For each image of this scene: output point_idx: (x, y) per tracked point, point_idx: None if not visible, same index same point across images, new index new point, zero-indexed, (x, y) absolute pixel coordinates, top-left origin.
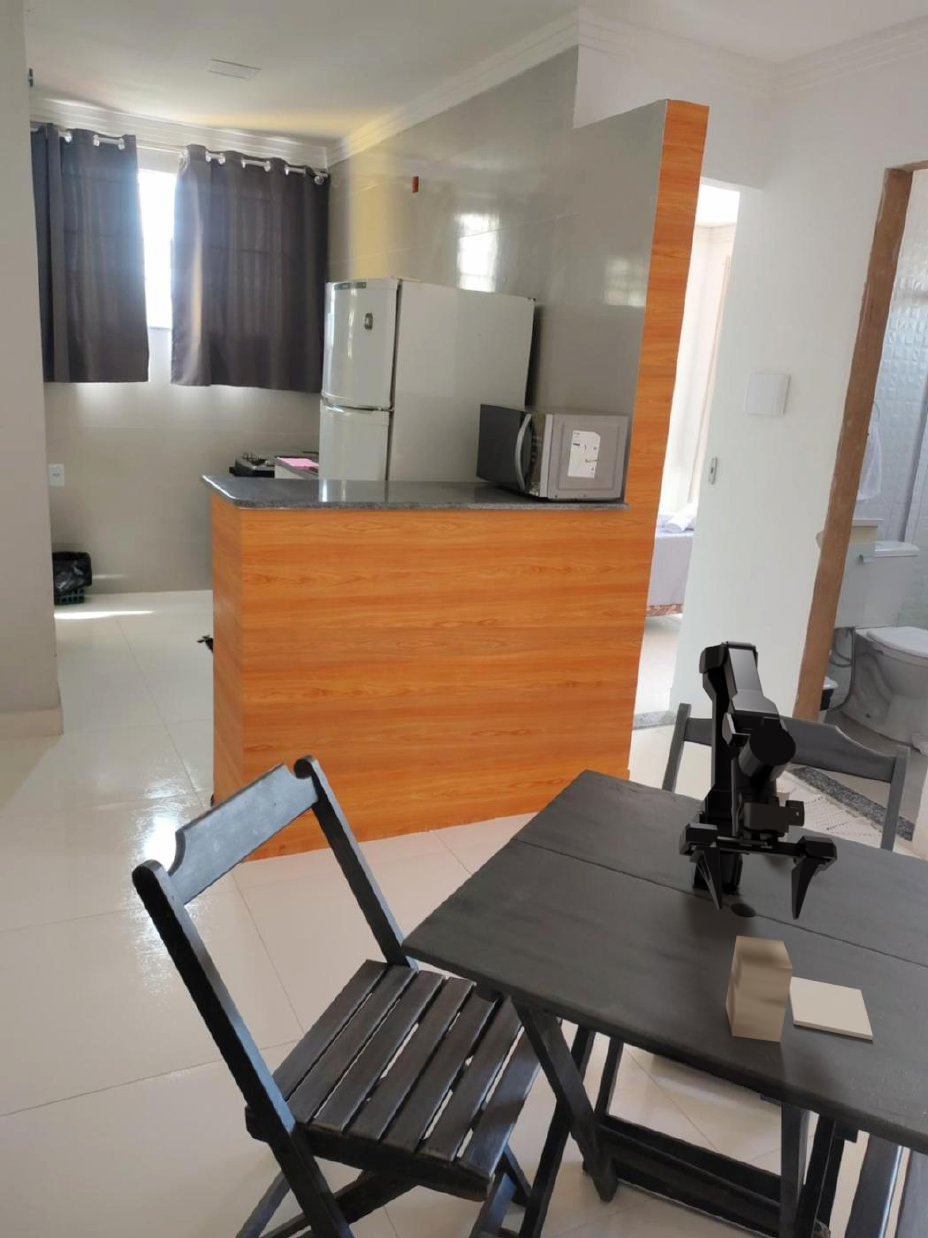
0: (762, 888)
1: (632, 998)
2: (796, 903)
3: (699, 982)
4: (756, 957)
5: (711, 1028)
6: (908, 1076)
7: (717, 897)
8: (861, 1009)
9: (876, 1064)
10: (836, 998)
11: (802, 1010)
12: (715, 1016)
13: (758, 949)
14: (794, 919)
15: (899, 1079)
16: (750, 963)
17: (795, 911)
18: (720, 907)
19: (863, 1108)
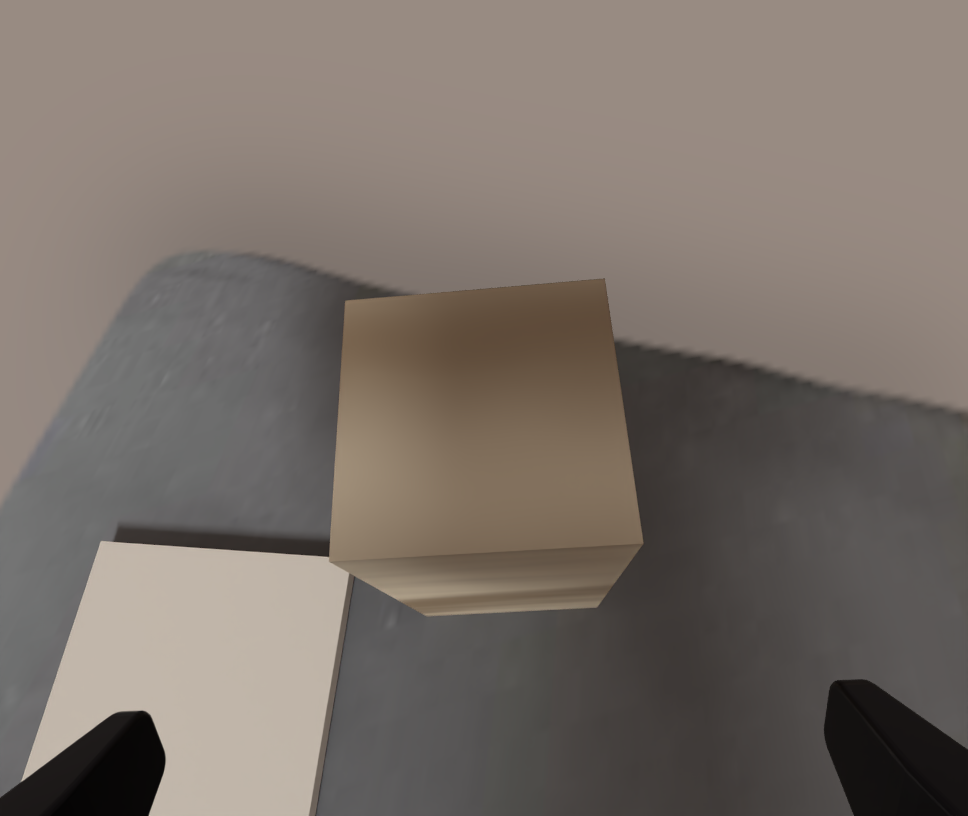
0: None
1: (964, 557)
2: (40, 812)
3: (706, 752)
4: (532, 342)
5: (649, 464)
6: (83, 409)
7: (963, 753)
8: (65, 694)
9: (153, 434)
10: None
11: (304, 625)
12: None
13: (510, 423)
14: (158, 739)
15: (116, 391)
16: (572, 283)
17: (110, 746)
18: (860, 686)
19: (265, 268)
